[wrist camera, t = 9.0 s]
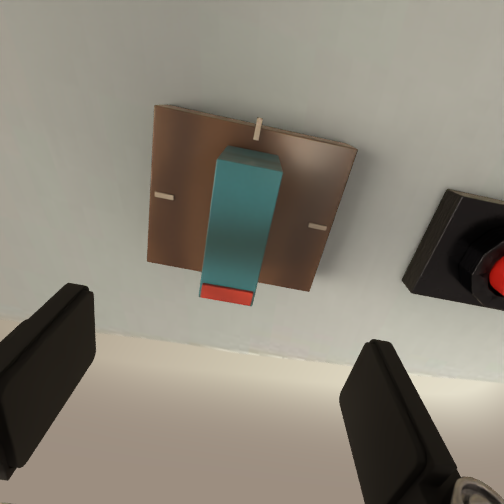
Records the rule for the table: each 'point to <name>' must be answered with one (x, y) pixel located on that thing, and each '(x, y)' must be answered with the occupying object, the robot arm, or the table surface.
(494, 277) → the button
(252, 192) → the teal rectangular block
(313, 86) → the table surface
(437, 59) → the table surface
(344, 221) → the table surface
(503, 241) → the button box
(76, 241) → the table surface
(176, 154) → the base
